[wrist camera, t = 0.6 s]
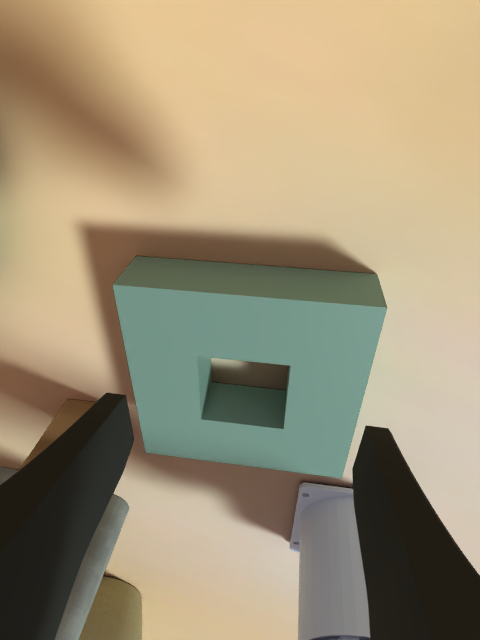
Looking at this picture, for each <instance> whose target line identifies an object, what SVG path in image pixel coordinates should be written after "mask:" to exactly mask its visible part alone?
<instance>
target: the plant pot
mask: <svg viewBox="0 0 480 640" xmlns="http://www.w3.org/2000/svg"><path fill="white" fill-rule="evenodd" d="M78 640H142V597H141V594H140V592H139V591H138V590H137V589H136V588H134V587H133V586H131V585H129V584H128V583H126V582H124V581H121V580H118V579H115V578H111V577H106V576H103V577H102V580H101V583H100V585H99V588H98V590H97V593H96V595H95V598H94V601H93V603H92V606H91V608H90V611H89V613H88V616H87V619H86V621H85V624H84V626H83V629H82V632H81V634H80V637H79V639H78Z"/></svg>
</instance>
